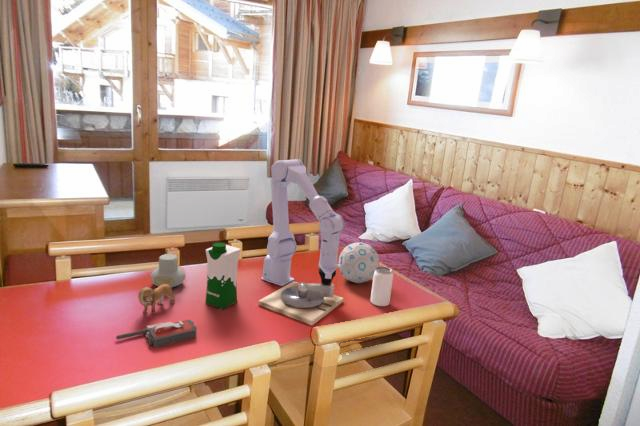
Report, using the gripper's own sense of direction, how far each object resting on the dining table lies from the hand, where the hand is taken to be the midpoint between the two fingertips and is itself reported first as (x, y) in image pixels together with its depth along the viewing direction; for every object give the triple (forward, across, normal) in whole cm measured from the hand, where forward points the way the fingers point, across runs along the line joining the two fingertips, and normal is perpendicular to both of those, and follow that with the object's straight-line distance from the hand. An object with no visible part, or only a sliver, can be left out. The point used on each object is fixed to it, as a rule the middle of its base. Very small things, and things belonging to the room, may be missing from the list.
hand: (325, 290), depth 148 cm
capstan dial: (+2, -3, +6) cm, 7 cm away
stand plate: (+4, -3, +8) cm, 9 cm away
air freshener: (+4, +4, +53) cm, 53 cm away
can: (+4, +2, -19) cm, 19 cm away
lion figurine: (+4, -14, +51) cm, 53 cm away
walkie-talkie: (+4, -29, +45) cm, 54 cm away
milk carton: (+4, -6, +33) cm, 34 cm away
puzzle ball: (+4, +19, -13) cm, 23 cm away
